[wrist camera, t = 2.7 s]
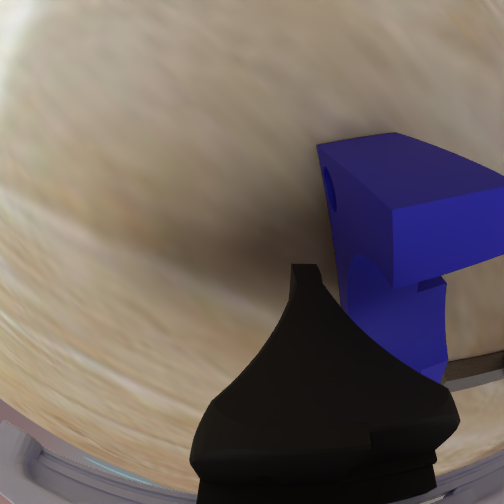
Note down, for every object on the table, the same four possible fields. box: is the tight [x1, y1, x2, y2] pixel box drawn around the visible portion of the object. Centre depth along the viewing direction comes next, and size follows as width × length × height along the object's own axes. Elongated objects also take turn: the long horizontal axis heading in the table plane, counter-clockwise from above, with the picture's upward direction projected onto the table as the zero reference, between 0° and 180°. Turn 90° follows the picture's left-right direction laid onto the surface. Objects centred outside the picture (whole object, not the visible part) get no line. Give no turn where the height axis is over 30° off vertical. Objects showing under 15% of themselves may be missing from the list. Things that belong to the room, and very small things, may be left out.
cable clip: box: [316, 132, 504, 384], centre depth 9 cm, size 12×4×6 cm, turn 15°
